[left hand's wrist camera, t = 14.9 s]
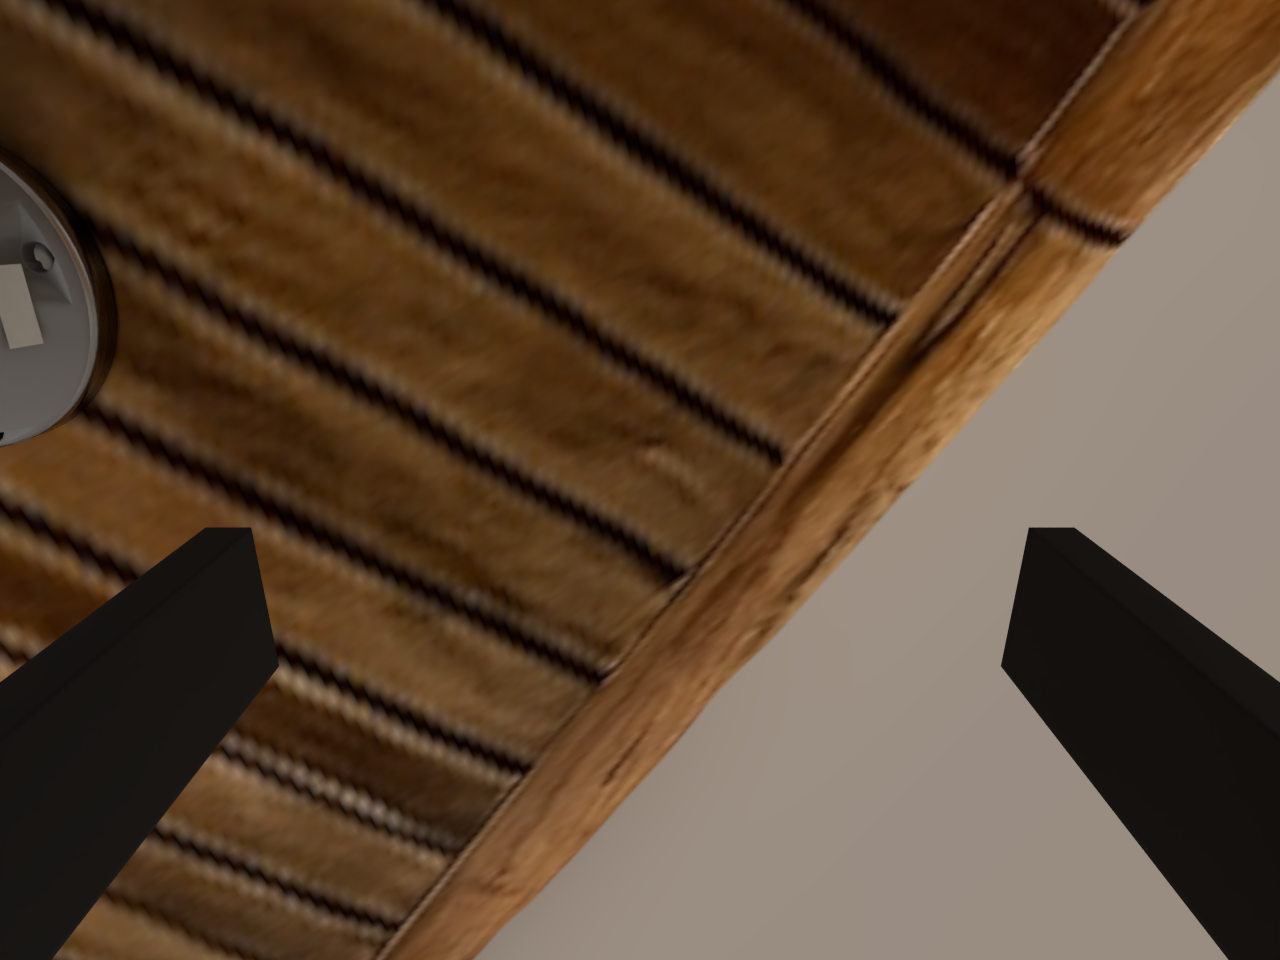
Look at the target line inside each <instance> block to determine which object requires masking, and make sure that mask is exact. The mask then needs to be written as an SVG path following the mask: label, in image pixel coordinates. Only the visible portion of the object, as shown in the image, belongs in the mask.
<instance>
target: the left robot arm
mask: <svg viewBox="0 0 1280 960" xmlns="http://www.w3.org/2000/svg"><path fill="white" fill-rule="evenodd" d="M115 342H116V314H115V306H114V300H113V294H112V291H111V287H110V283H109V279H108V276H107V273H106V271H105V268H104V265H103V263H102V260H101V258H100V256H99V254H98V251H97V249H96V247H95V245H94V244H93V242H92V240H91V238H90V236H89V235H88V233H87V231H86V230H85V228H84V227H83V225H82V224H81V222H80V221H79V219H78V217H77V216H76V215H75V214H74V212H73V211H72V210H71V208H70V207H69V206H68V204H67V203H66V202H65V201H64V200H63V199H62V197H61V196H60V195H59V194H58V193H57V192H56V191H55V190H54V189H53V188H52V187H51V186H50V185H49V184H48V183H47V182H46V181H45V180H44V179H43V178H42V177H41V176H40V175H39V174H38V173H36V172H35V171H34V170H33V169H31V168H30V167H29V166H28V165H27V164H25V163H24V162H23V161H21V160H20V159H18V158H17V157H16V156H14V155H13V154H11V153H10V152H8V151H7V150H5V149H3V148H2V147H0V447H4V446H9V445H13V444H16V443H19V442H22V441H25V440H27V439H30V438H32V437H35V436H38V435H40V434H43V433H45V432H48V431H50V430H53V429H55V428H57V427H59V426H61V425H63V424H65V423H66V422H68V421H69V420H71V419H73V418H74V417H75V416H76V415H78V414H79V413H80V412H81V411H83V410H84V409H85V408H86V406H87V405H88V404H89V403H90V402H91V401H92V400H93V398H94V397H95V396H96V394H97V393H98V392H99V390H100V388H101V386H102V385H103V383H104V381H105V379H106V377H107V374H108V372H109V369H110V366H111V362H112V359H113V355H114V349H115ZM278 667H279V664H278V659H277V654H276V649H275V644H274V639H273V634H272V629H271V624H270V619H269V614H268V609H267V604H266V599H265V594H264V589H263V584H262V579H261V574H260V569H259V564H258V560H257V555H256V550H255V545H254V540H253V535H252V530H251V528H205V529H203V530H202V531H201V532H199V533H198V534H197V535H195V536H194V537H193V538H191V539H190V540H189V541H187V542H186V543H185V544H183V545H182V546H181V547H179V548H178V549H177V550H175V551H174V552H173V553H171V554H170V555H169V556H167V557H166V558H165V559H163V560H162V561H161V562H159V563H158V564H157V565H155V566H154V567H153V568H151V569H150V570H149V571H147V572H146V573H145V574H143V575H142V576H141V577H139V578H138V579H137V580H135V581H134V582H133V583H131V584H130V585H129V586H128V587H126V588H125V589H124V590H122V591H121V592H120V593H118V594H117V595H116V596H114V597H113V598H112V599H110V600H109V601H108V602H106V603H105V604H104V605H102V606H101V607H100V608H98V609H97V610H96V611H94V612H93V613H92V614H90V615H89V616H88V617H86V618H85V619H84V620H82V621H81V622H80V623H78V624H77V625H76V626H74V627H73V628H72V629H70V630H69V631H68V632H66V633H65V634H64V635H62V636H61V637H60V638H58V639H57V640H56V641H54V642H53V643H52V644H51V645H49V646H48V647H47V648H45V649H44V650H43V651H41V652H40V653H39V654H37V655H36V656H35V657H33V658H32V659H31V660H29V661H28V662H27V663H25V664H24V665H23V666H21V667H20V668H19V669H17V670H16V671H15V672H13V673H12V674H11V675H9V676H8V677H7V678H5V679H4V680H3V681H1V682H0V960H52V958H53V957H54V956H55V954H56V953H57V952H58V951H59V949H60V948H61V947H62V945H63V944H64V943H65V942H66V940H67V939H68V938H69V936H70V935H71V934H72V933H73V931H74V930H75V929H76V927H77V926H78V925H79V924H80V922H81V921H82V920H83V918H84V917H85V916H86V914H87V913H88V912H89V911H90V909H91V908H92V907H93V905H94V904H95V903H96V902H97V900H98V899H99V898H100V896H101V895H102V894H103V893H104V891H105V890H106V889H107V887H108V886H109V885H110V884H111V882H112V881H113V880H114V878H115V877H116V876H117V875H118V873H119V872H120V871H121V869H122V868H123V867H124V865H125V864H126V863H127V862H128V860H129V859H130V858H131V856H132V855H133V854H134V853H135V851H136V850H137V849H138V847H139V846H140V845H141V844H142V842H143V841H144V840H145V838H146V837H147V836H148V835H149V833H150V832H151V831H152V829H153V828H154V827H155V825H156V824H157V823H158V822H159V820H160V819H161V818H162V816H163V815H164V814H165V813H166V811H167V810H168V809H169V807H170V806H171V805H172V804H173V802H174V801H175V800H176V798H177V797H178V796H179V795H180V793H181V792H182V791H183V789H184V788H185V787H186V785H187V784H188V783H189V782H190V780H191V779H192V778H193V776H194V775H195V774H196V773H197V771H198V770H199V769H200V767H201V766H202V765H203V764H204V762H205V761H206V760H207V758H208V757H209V756H210V755H211V753H212V752H213V751H214V749H215V748H216V747H217V745H218V744H219V743H220V742H221V740H222V739H223V738H224V736H225V735H226V734H227V733H228V731H229V730H230V729H231V727H232V726H233V725H234V724H235V722H236V721H237V720H238V718H239V717H240V716H241V715H242V713H243V712H244V711H245V709H246V708H247V707H248V706H249V704H250V703H251V702H252V700H253V699H254V698H255V696H256V695H257V694H258V693H259V691H260V690H261V689H262V687H263V686H264V685H265V684H266V682H267V681H268V680H269V678H270V677H271V676H272V675H273V673H274V672H275V671H276V669H277V668H278ZM1001 667H1002V668H1003V669H1004V671H1005V672H1006V673H1007V675H1008V676H1009V677H1010V678H1011V680H1012V681H1013V682H1014V684H1015V685H1016V686H1017V687H1018V689H1019V690H1020V691H1021V693H1022V694H1023V695H1024V696H1025V698H1026V699H1027V700H1028V702H1029V703H1030V704H1031V706H1032V707H1033V708H1034V709H1035V711H1036V712H1037V713H1038V715H1039V716H1040V717H1041V718H1042V720H1043V721H1044V722H1045V724H1046V725H1047V726H1048V727H1049V729H1050V730H1051V731H1052V733H1053V734H1054V735H1055V736H1056V738H1057V739H1058V740H1059V742H1060V743H1061V744H1062V745H1063V747H1064V748H1065V749H1066V751H1067V752H1068V753H1069V755H1070V756H1071V757H1072V758H1073V760H1074V761H1075V762H1076V764H1077V765H1078V766H1079V767H1080V769H1081V770H1082V771H1083V773H1084V774H1085V775H1086V776H1087V778H1088V779H1089V780H1090V782H1091V783H1092V784H1093V785H1094V787H1095V788H1096V789H1097V791H1098V792H1099V793H1100V794H1101V796H1102V797H1103V798H1104V800H1105V801H1106V802H1107V804H1108V805H1109V806H1110V807H1111V809H1112V810H1113V811H1114V813H1115V814H1116V815H1117V816H1118V818H1119V819H1120V820H1121V822H1122V823H1123V824H1124V825H1125V827H1126V828H1127V829H1128V831H1129V832H1130V833H1131V834H1132V836H1133V837H1134V838H1135V840H1136V841H1137V842H1138V844H1139V845H1140V846H1141V847H1142V849H1143V850H1144V851H1145V853H1146V854H1147V855H1148V856H1149V858H1150V859H1151V860H1152V862H1153V863H1154V864H1155V865H1156V867H1157V868H1158V869H1159V871H1160V872H1161V873H1162V874H1163V876H1164V877H1165V878H1166V880H1167V881H1168V882H1169V884H1170V885H1171V886H1172V887H1173V889H1174V890H1175V891H1176V893H1177V894H1178V895H1179V896H1180V898H1181V899H1182V900H1183V902H1184V903H1185V904H1186V905H1187V907H1188V908H1189V909H1190V911H1191V912H1192V913H1193V914H1194V916H1195V917H1196V918H1197V920H1198V921H1199V922H1200V924H1201V925H1202V926H1203V927H1204V929H1205V930H1206V931H1207V933H1208V934H1209V935H1210V936H1211V938H1212V939H1213V940H1214V942H1215V943H1216V944H1217V945H1218V947H1219V948H1220V949H1221V951H1222V952H1223V953H1224V954H1225V956H1226V957H1227V958H1228V960H1280V682H1279V681H1277V680H1276V679H1275V678H1273V677H1272V676H1271V675H1269V674H1268V673H1267V672H1265V671H1264V670H1263V669H1261V668H1260V667H1259V666H1257V665H1256V664H1255V663H1253V662H1252V661H1251V660H1249V659H1248V658H1247V657H1245V656H1244V655H1243V654H1241V653H1240V652H1239V651H1237V650H1236V649H1235V648H1233V647H1232V646H1231V645H1229V644H1228V643H1227V642H1225V641H1224V640H1223V639H1221V638H1220V637H1219V636H1218V635H1216V634H1215V633H1214V632H1212V631H1211V630H1210V629H1208V628H1207V627H1205V626H1204V625H1203V624H1202V623H1200V622H1199V621H1198V620H1196V619H1195V618H1194V617H1192V616H1191V615H1190V614H1188V613H1187V612H1186V611H1184V610H1183V609H1182V608H1180V607H1179V606H1178V605H1176V604H1175V603H1174V602H1172V601H1171V600H1170V599H1168V598H1167V597H1166V596H1164V595H1163V594H1162V593H1160V592H1159V591H1158V590H1156V589H1155V588H1154V587H1152V586H1151V585H1150V584H1148V583H1147V582H1146V581H1144V580H1143V579H1142V578H1141V577H1139V576H1138V575H1137V574H1135V573H1134V572H1133V571H1131V570H1130V569H1129V568H1127V567H1126V566H1125V565H1123V564H1122V563H1121V562H1119V561H1118V560H1117V559H1115V558H1114V557H1113V556H1111V555H1110V554H1109V553H1107V552H1106V551H1105V550H1103V549H1102V548H1101V547H1099V546H1098V545H1097V544H1095V543H1094V542H1093V541H1091V540H1090V539H1089V538H1087V537H1086V536H1085V535H1083V534H1082V533H1081V532H1079V531H1078V530H1077V529H1075V528H1029V530H1028V535H1027V540H1026V545H1025V550H1024V555H1023V560H1022V565H1021V569H1020V575H1019V579H1018V584H1017V589H1016V594H1015V599H1014V604H1013V609H1012V614H1011V619H1010V624H1009V629H1008V634H1007V639H1006V644H1005V649H1004V654H1003V659H1002V664H1001Z"/></svg>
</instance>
